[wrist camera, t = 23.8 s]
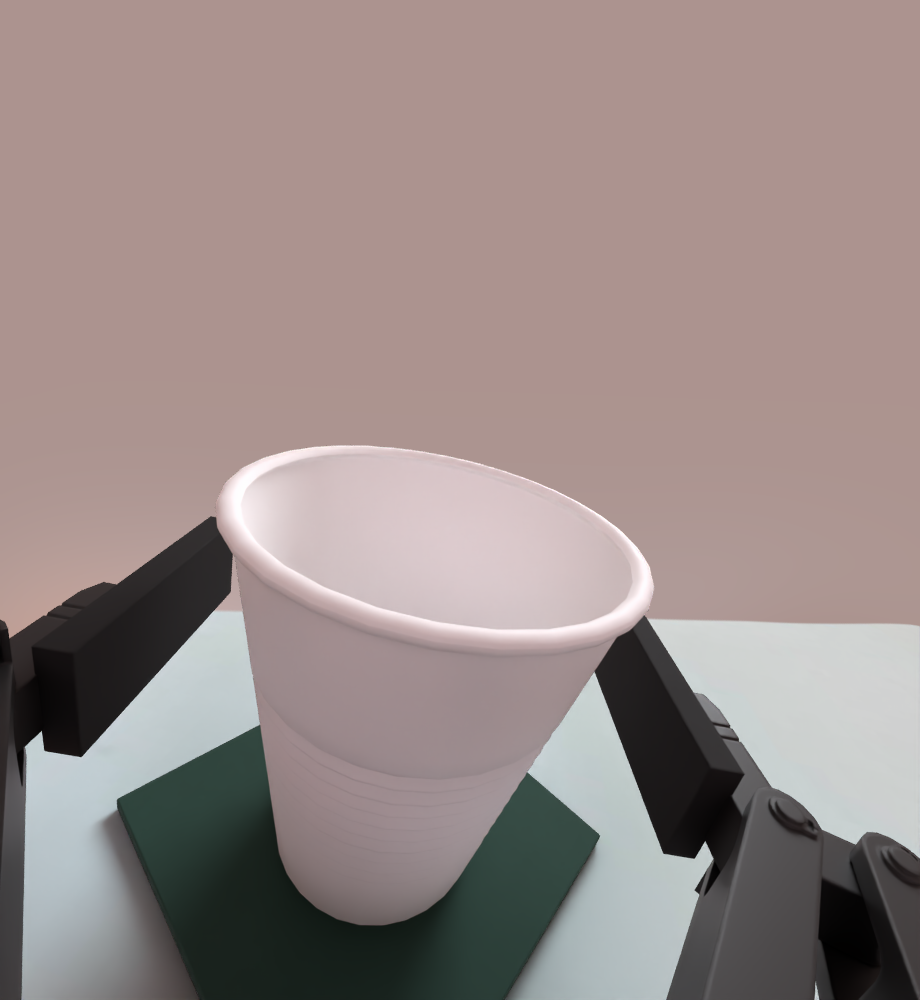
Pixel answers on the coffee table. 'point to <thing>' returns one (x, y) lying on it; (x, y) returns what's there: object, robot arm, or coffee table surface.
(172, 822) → the mat
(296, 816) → the cup
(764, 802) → the robot arm
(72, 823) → the coffee table surface
